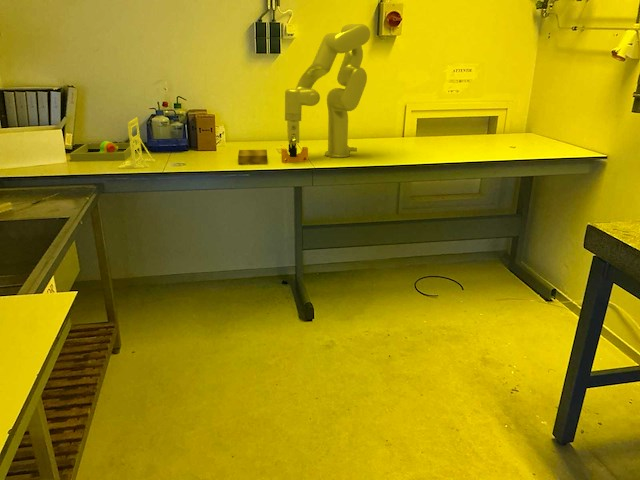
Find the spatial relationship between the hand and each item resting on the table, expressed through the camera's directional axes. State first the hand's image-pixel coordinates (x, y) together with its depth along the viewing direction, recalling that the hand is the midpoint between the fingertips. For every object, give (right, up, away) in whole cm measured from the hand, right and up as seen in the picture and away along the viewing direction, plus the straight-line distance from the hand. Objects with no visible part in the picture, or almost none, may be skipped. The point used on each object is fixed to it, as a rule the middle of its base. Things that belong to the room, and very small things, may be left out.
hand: (292, 154), depth 240 cm
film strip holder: (-70, -6, -9) cm, 70 cm away
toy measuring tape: (-92, 0, +7) cm, 92 cm away
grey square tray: (-91, +1, +9) cm, 91 cm away
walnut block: (-18, -3, -1) cm, 19 cm away
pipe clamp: (+1, -3, 0) cm, 4 cm away
